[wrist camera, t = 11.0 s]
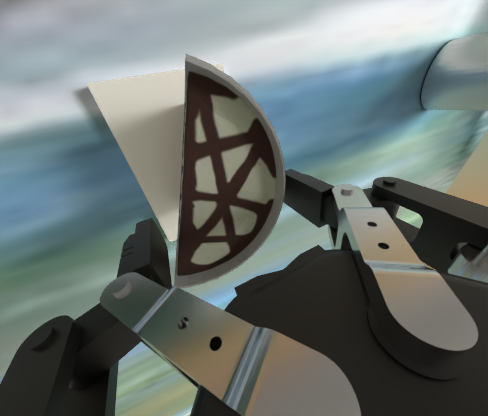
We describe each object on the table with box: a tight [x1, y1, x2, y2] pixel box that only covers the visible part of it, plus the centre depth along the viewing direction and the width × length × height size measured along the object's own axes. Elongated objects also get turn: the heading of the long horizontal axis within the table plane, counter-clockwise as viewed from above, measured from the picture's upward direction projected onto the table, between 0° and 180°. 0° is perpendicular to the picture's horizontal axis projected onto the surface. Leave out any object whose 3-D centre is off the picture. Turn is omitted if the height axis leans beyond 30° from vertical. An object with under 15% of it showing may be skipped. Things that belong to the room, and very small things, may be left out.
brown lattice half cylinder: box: [174, 54, 286, 289], centre depth 14 cm, size 12×6×10 cm, turn 168°
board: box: [87, 64, 224, 242], centre depth 18 cm, size 10×15×1 cm, turn 10°
